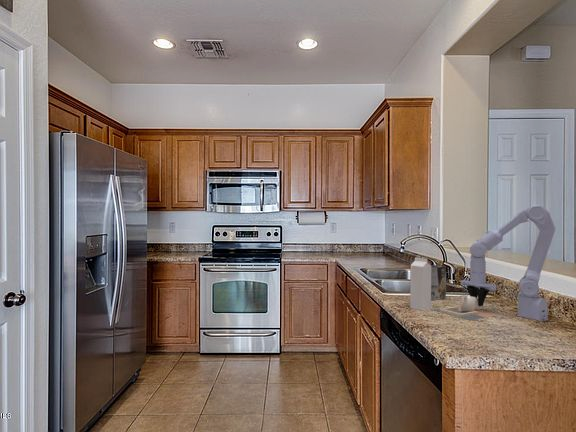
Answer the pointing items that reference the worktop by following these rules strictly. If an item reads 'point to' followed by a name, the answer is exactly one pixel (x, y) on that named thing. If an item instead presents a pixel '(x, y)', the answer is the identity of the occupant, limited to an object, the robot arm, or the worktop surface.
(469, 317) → the jug holder
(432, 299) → the coffee box
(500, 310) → the worktop surface
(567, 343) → the worktop surface
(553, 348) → the worktop surface
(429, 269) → the milk
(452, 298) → the worktop surface
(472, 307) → the jug
